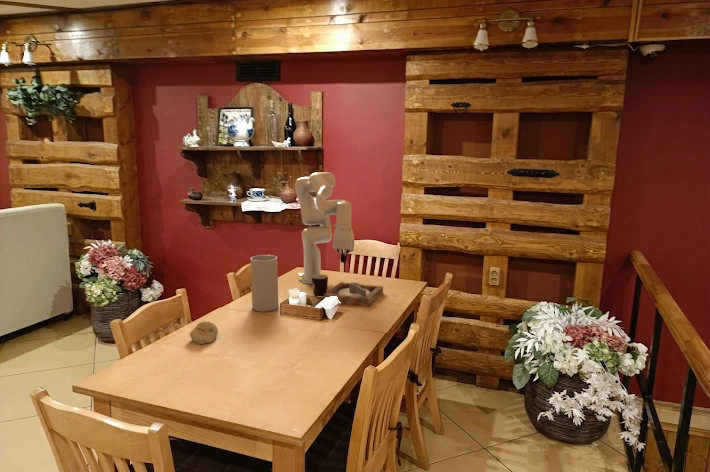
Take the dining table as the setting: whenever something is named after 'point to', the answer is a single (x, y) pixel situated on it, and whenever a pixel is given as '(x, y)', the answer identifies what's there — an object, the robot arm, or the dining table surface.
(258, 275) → the cylinder vase
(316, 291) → the coffee mug
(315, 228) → the robot arm
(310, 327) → the dining table surface
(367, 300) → the dial housing
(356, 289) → the dial
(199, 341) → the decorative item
